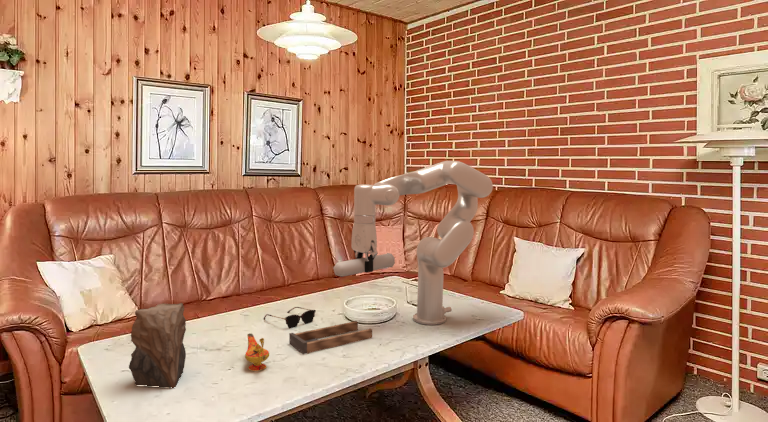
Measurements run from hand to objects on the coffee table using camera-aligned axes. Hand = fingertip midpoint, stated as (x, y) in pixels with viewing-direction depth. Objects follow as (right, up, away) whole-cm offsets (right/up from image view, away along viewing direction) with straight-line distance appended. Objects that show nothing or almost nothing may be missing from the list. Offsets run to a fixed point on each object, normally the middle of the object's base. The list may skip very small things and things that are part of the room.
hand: (364, 269), depth 180 cm
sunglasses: (-29, -21, +9) cm, 37 cm away
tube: (0, -1, 0) cm, 1 cm away
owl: (-53, -25, -42) cm, 73 cm away
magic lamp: (-31, -25, -31) cm, 50 cm away
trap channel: (-11, -22, -11) cm, 27 cm away
